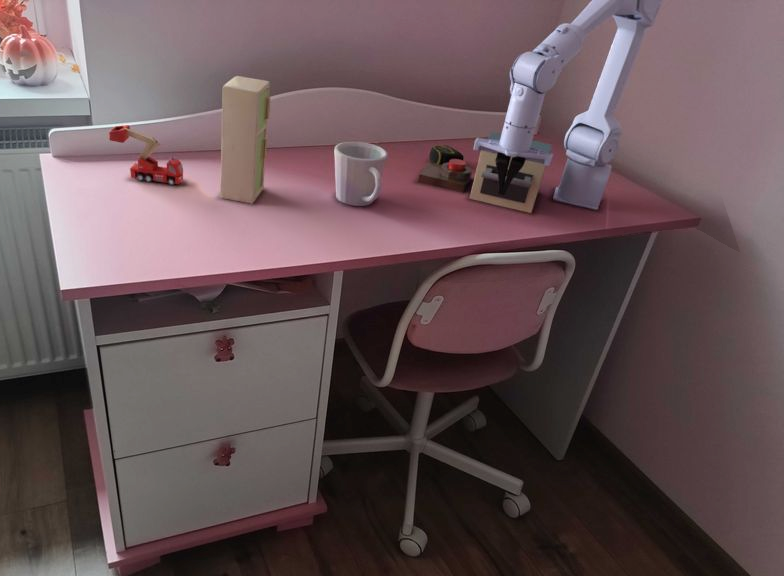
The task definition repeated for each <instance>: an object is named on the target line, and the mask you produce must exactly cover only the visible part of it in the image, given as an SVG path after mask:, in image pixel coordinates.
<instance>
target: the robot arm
mask: <svg viewBox="0 0 784 576" xmlns="http://www.w3.org/2000/svg"><path fill="white" fill-rule="evenodd" d="M663 1H664V0H591V1H590V2H589V3H588V4H587V6H585V8H584V9H583V10H582V11H581V12H580V13H579V14H578V15H577V16H576V18H575V19H574V20H573V21H572V22H571V23H567V22H565V23H561V24H559V25H558V26H557V27H556V28H555V30H553V32H551V33H550V34H549V35H548V36H547V37H546V38H545V39H544V40H542V42H541V43H539V44H538V45H537V46H536V47H535V48H534V49H533V50H532V51H530V50H529V51H526V52H524V53H521V54H520V55H518V57H516V59H515V60H514V62H513V64H512V67H510V69H509V79H510V86H509V93H510V99H509V103H508V107H507V111H506V114H505V119H504V123H503V128H502V130H501V134H502V135H501V138H500V141H499V140H490V139H488V138H481V137H476V139H475V140H474V145H473V149H472V150H473V151H476V152H479V151H480V152H481V151H485V152H490V153H494V154H497V157H496V159H495V162H496V167H497V172H498V194H501V195H505V193H506V191H507V188H508V186H509V184H510V183H511V181H512V180H513V178H514V177H515V176H516V174H517V173H518V172H519V171H520V169H521V168H522V167H523V165H524V163H525V160H527V161H532V162H536V163H541V164H544V165H545V166H546V167H551V163H552V160H553V156H554V153H552V152H550V153H548V152H545V151H542V150H539V149H536V148H532V147H530V146H531V142H532V140H534V139H533V138H534V135H535V131H536V128H537V124H538V121H539V117H540V113H541V110H542V107H543V104H544V99H545V95H546V94H547V92H548V91H549V90H550V89H553V87H554V86H555V84H556V83H557V80H558V78H559V76H560V75H561V73H562V71H563V68H564V67H565V66H566V64H568V63H569V62H570V61H571V60H572V59H573V58H574V57H575V56H576V55H577V54H578V53H579V52H580V51H581V50H582V49H583V47H584V42H585V41H584V39H585V38H586V37H587V36H589V35H590V34H591V33H592V32H594V31H595V30H596V29H598V28H599V27H600V26H601V25H603V23H605V22H606V21H608V19H610V18H611V17H612V18H613V19H614V21H615V24H616V27H617V30H616V32H615V35H614V38H613V41H612V43H611V47H610V49H609V51H608V55H607V57H606V60H605V63H604V66H603V69H602V70H601V74H600V77H599V79H598V83H597V85H596V88H595V91H594V93H593V96H592V99H591V100H590V101H591V102H590V104H589V107H588V110H587V111H584V112H582V113H580V114H578V115H576V116H575V117H574V119H573V121H572V124H571V125H570V127H569V128H568V130H567V131H566V134H565V135H564V140H563V147H564V149H565V151H566V152H565V156H567V159H566V163H565V165H564V169H563V172H562V175H561V177H560V181H559V183H558V186H556V187H555V190H554V194H553V197H552V200H553V201H555V202H559V203H565V204H568V205H573V206H577V207H581V208H586V209H590V210H594V211H597V210H598V211H599V206H600V203H601V201H602V200H603V198H604V195H605V190H606V187H607V184H608V182H609V178H610V175H611V171H612V169H613V168H612V167H613V166H612V165H611V164H608V163H609V162H611V161H612V160H613V159H614V157H615V156H616V154H617V152H618V151H619V147H620V139H621V135H622V132H623V128H622V125H621V124H620V122H619V121H618V119H617V118H616V116H615V114H616V112H617V110H618V106H619V104H620V101H621V99H622V96H623V93H624V91H625V89H626V86H627V83H628V80H629V78H630V76H631V74H632V70H633V68H634V65H635V63H636V59H637V57H638V55H639V52H640V50H641V47H642V45H643V41H644V39H645V37H646V35H647V31H648V29H649V28H650V27H653V26H654V24H655V22H656V19H657V17H658V15H659V12H660V9H661V7H662V4H663ZM511 157H513V158H512V160H511V162H510V159H511ZM509 163H510V165H509ZM508 166H509V169H508ZM507 170H508V174H507V178H506V173H507ZM505 178H506V181H505ZM504 183H505V184H504Z"/></svg>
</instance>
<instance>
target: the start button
mask: <svg viewBox="0 0 784 576" xmlns="http://www.w3.org/2000/svg"><path fill="white" fill-rule="evenodd" d="M466 166H467V162H466V161H465V160H464V159H463V160H459V159H451V160H450V162H449V166H448V169H450V170H453V171H459V172H462V171H465V167H466Z"/></svg>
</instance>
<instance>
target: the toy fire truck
mask: <svg viewBox="0 0 784 576" xmlns="http://www.w3.org/2000/svg"><path fill="white" fill-rule="evenodd" d="M108 135H109V138H108V139H109V141H110V142H116V143H121V144H124V143H125V142H126V141H127V140H128V139H129V138H130V137H131V138H133V139H136V140H138V141H141V142H142V143H143V142H144V143H145V146H144V148H143V149H142V151H141V152H140V154H139V155H138V157H137V163H136V162H135V163H134V164H133V165H132V166H130V167H129V172H130V178H131V179H136V180H137V181H139V182H142V181H144V180H145V181H146V182H147V183H151V182H152V181H153V182H158V183H164V184H165V183H167V184H168V185H170V186H174V185H179V184H181V183H183V181H184V167H183V164H182V161H180V160H179V159H178V158H174V157H170V158H169V160H168V161H167V162H166V166H159V161H158V160H157V159H155V158H152V156H151V155H152V154H153V153H154V152H155V151H156V150H157V149H158V148H159V147H160V146H161V143H160V142H159V141H158V140H157V139H156V138H155V137H150V136H147V135H145V134H142V133H140V132H137V131H135V130H132V129H131V127H130V125H117V126H113V128H111V130H109V131H108ZM150 156H151V157H150Z"/></svg>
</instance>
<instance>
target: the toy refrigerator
mask: <svg viewBox="0 0 784 576" xmlns="http://www.w3.org/2000/svg"><path fill="white" fill-rule="evenodd" d="M270 83H271V82H270V81H269V80H264V79H257V78H253V77H252V78H251V77H246V76H240V75H236V76H233V77H232V78H231V79H230V80H228V81H227V82H226V83H225V84H224V85H223V86H222V99H221V100H222V104H221V105H222V106H221V147H220V148H221V149H220V151H221V152H220V158H221V159H220V198H221V199H225V200H231V201H235V202H241V203H247V204H254V202H255V201H256V200H257V198H258V197H259V195H260V194H261V193H262V191H263V190H264V185H265V169H266V158H267V147H268V138H267V136H268V120H269V119H270V110H271V97H270V87H271V84H270Z"/></svg>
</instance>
